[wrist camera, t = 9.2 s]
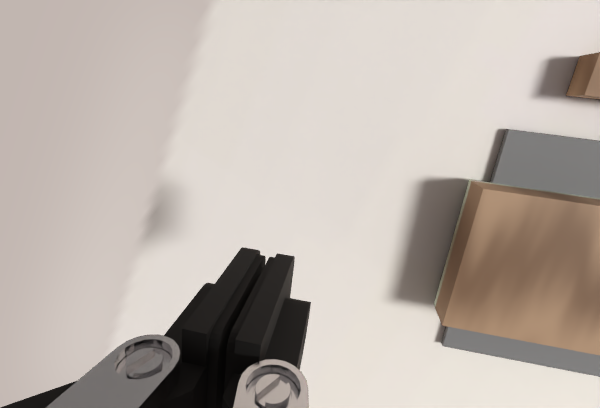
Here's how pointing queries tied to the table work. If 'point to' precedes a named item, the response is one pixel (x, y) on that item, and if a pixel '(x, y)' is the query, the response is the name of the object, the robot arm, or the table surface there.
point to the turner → (586, 77)
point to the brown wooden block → (525, 267)
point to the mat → (550, 177)
